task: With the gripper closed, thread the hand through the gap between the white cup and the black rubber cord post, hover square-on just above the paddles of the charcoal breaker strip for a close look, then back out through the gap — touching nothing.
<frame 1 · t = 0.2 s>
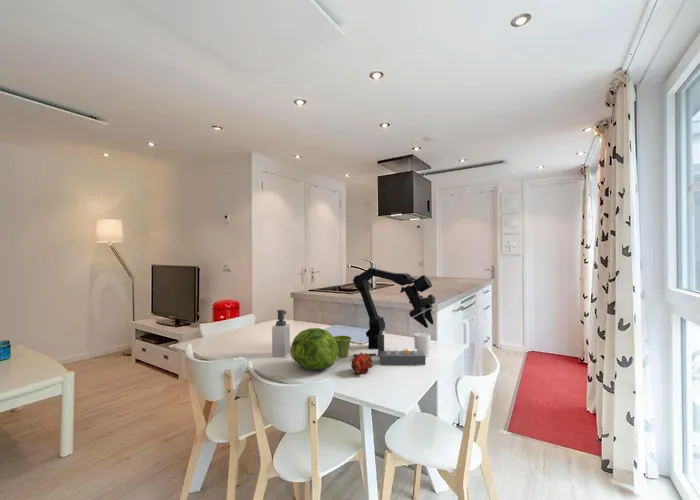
hand: (430, 325, 159), 15 cm above the table, tool tilted 30°, fingers open, 9 cm apart
cord post: (381, 355, 160), on the table
plant pot: (342, 356, 161), on the table
cord: (364, 356, 159), on the table
lettuce: (311, 368, 145), on the table
breaker strip: (401, 362, 151), on the table
soap dispenser: (282, 354, 165), on the table
white cup: (422, 355, 160), on the table
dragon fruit: (361, 373, 139), on the table
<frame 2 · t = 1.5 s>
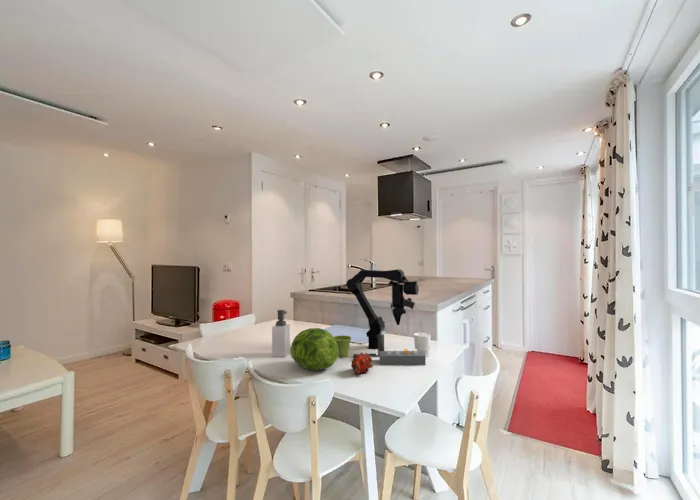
hand: (398, 324, 169), 13 cm above the table, tool pointing down, fingers closed
nothing on the table moved.
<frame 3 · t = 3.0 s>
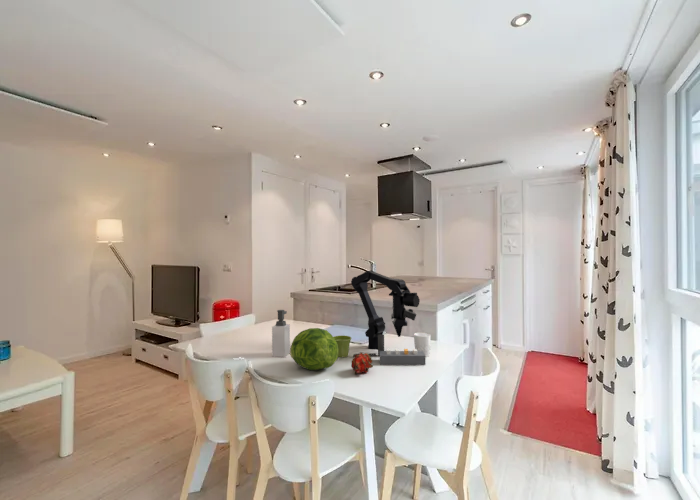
hand: (399, 336, 164), 8 cm above the table, tool pointing down, fingers closed
nothing on the table moved.
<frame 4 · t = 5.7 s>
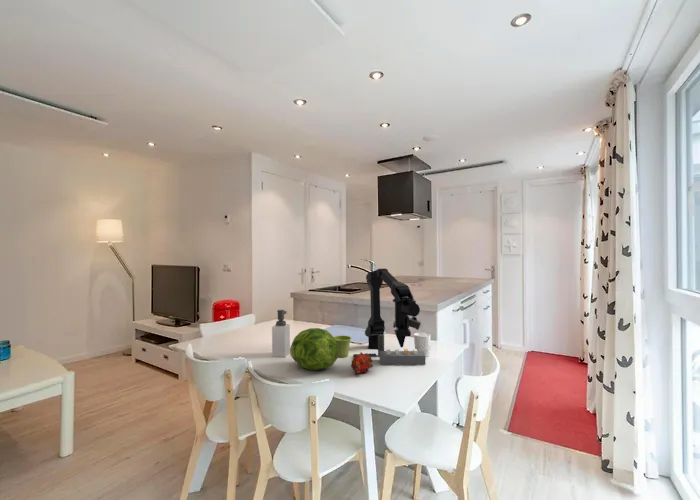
hand: (401, 347, 151), 7 cm above the table, tool pointing down, fingers closed
nothing on the table moved.
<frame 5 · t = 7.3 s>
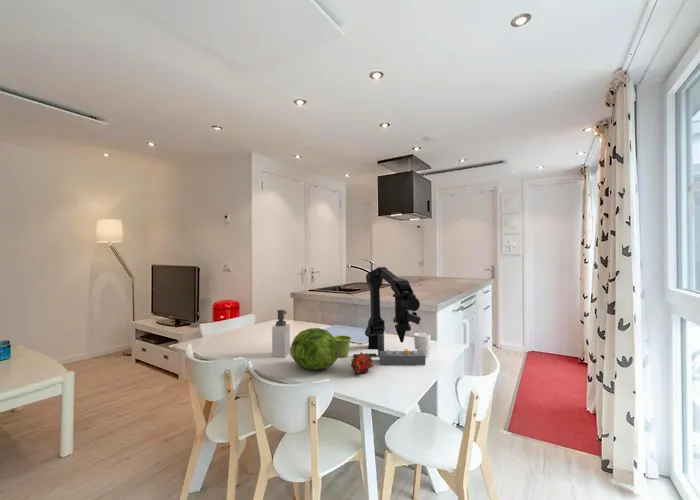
hand: (401, 342, 150), 9 cm above the table, tool pointing down, fingers closed
nothing on the table moved.
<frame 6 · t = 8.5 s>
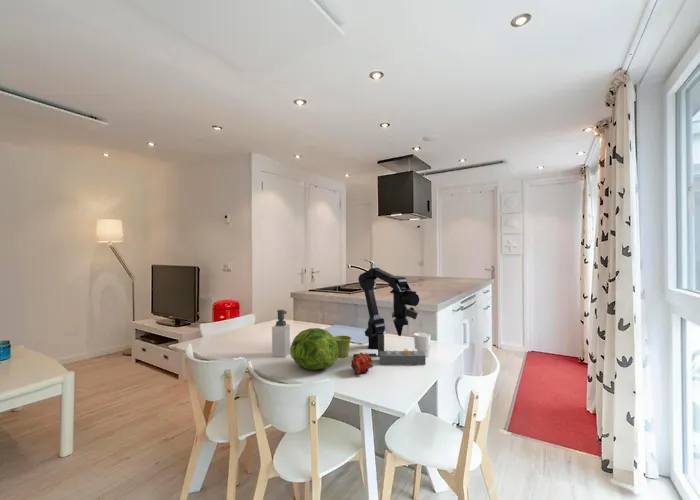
hand: (399, 335, 159), 10 cm above the table, tool pointing down, fingers closed
nothing on the table moved.
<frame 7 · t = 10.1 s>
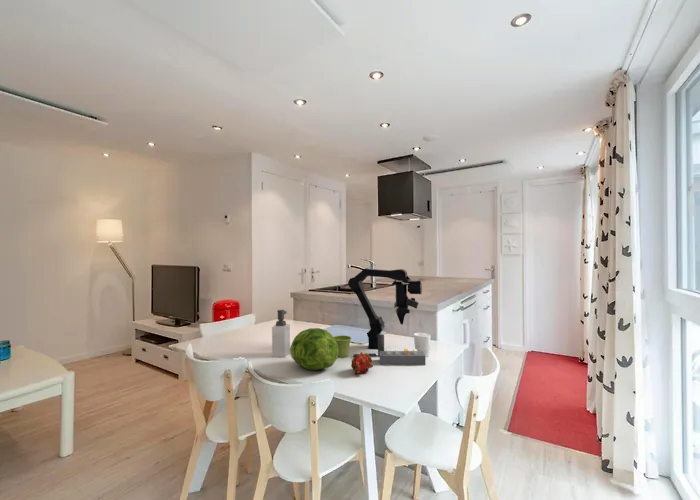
hand: (401, 324, 169), 13 cm above the table, tool pointing down, fingers closed
nothing on the table moved.
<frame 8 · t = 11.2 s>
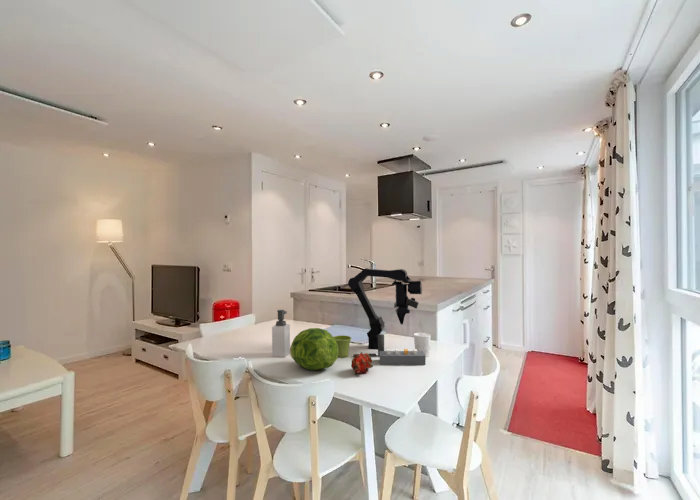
hand: (401, 324, 169), 13 cm above the table, tool pointing down, fingers closed
nothing on the table moved.
at the end: white cup moved 0.2 cm from its start; cord post moved 0.0 cm from its start; cord post tilted 0° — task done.
